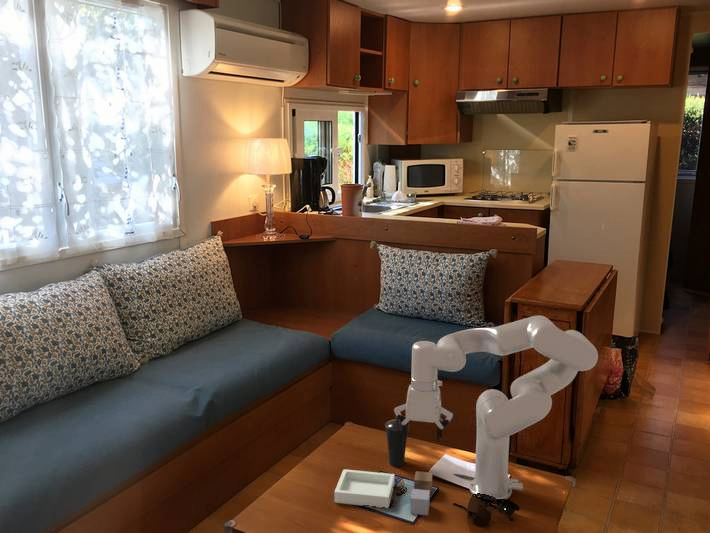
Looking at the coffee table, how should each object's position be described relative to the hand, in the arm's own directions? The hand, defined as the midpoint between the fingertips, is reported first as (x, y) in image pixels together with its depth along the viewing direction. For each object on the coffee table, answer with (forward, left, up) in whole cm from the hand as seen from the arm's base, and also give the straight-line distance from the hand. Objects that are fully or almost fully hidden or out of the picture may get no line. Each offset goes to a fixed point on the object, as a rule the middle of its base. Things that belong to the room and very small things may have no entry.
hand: (422, 437), depth 197 cm
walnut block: (-1, 0, -18) cm, 18 cm away
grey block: (-1, +10, -18) cm, 20 cm away
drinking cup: (+9, -15, -18) cm, 25 cm away
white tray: (+16, +5, -17) cm, 24 cm away
